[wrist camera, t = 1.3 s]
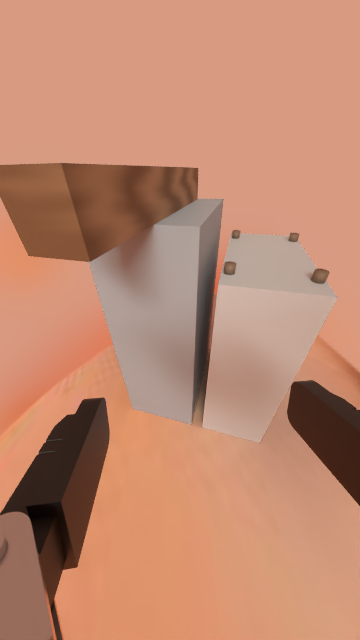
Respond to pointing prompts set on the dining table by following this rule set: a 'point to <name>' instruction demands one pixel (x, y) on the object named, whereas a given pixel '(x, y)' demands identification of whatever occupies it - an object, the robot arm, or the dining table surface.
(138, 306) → the stand
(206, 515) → the dining table surface
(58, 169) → the batten
